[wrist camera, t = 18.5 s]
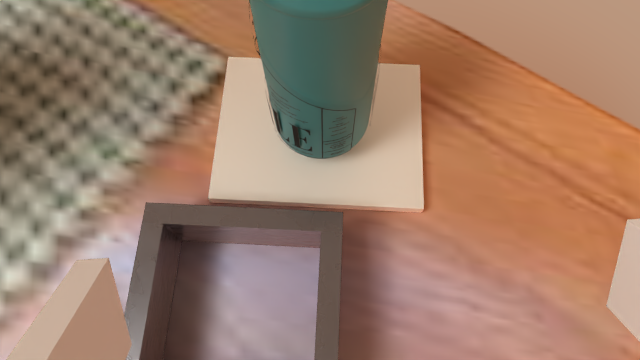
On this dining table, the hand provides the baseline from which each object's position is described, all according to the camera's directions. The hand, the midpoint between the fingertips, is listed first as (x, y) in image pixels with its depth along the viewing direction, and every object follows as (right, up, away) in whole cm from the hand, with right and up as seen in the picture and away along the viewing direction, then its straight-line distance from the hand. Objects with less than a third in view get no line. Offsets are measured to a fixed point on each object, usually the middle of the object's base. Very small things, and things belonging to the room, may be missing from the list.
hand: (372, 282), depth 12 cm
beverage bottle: (-1, +6, +21) cm, 22 cm away
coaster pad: (-1, +6, +21) cm, 22 cm away
